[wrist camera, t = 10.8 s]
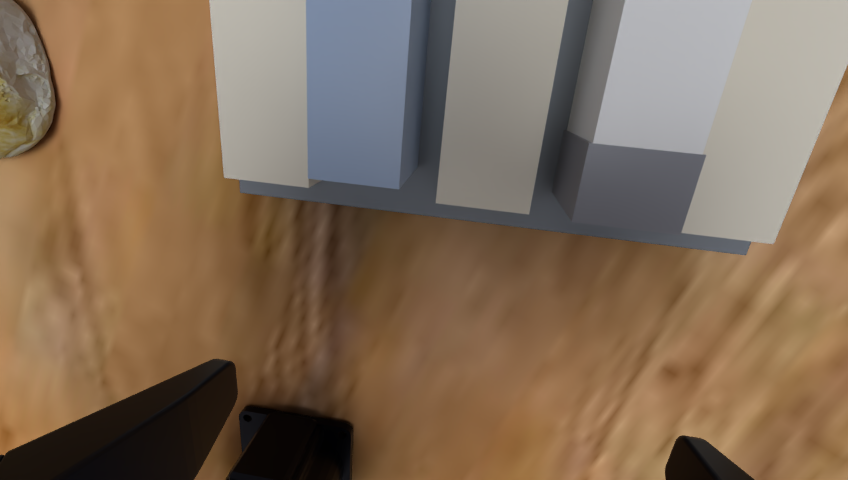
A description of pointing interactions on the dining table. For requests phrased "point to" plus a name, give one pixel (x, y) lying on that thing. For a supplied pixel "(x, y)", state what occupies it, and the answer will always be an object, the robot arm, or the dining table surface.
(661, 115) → the grey white bar
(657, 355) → the dining table surface
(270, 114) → the rack
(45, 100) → the bread roll
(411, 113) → the grey rectangular bar
